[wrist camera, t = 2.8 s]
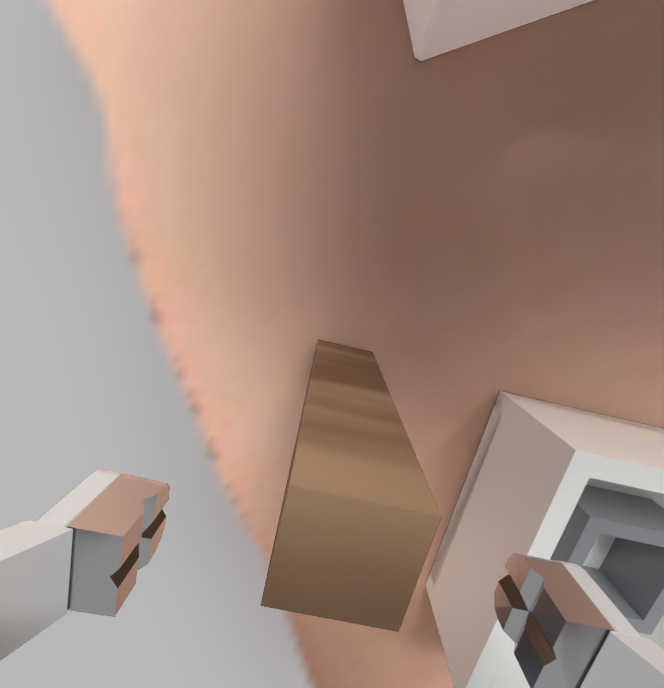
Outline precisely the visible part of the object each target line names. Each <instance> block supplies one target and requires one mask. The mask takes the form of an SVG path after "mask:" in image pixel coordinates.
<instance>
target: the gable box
mask: <svg viewBox="0 0 664 688" xmlns="http://www.w3.org/2000/svg"><path fill="white" fill-rule="evenodd" d="M590 1H593V0H403V3H404V8H405V13H406V17H407V22H408V27H409V32H410V37H411V42H412V46H413V51H414V56H415V58H417V59H418V60H420V61H423V60H426V59H429V58H431V57H434V56H437V55H440V54H443V53H446V52H448V51H451V50H454V49H457V48H460V47H463V46H466V45H468V44H471V43H474V42H477V41H480V40H483V39H485V38H488V37H491V36H494V35H497V34H500V33H502V32H505V31H508V30H511V29H514V28H517V27H519V26H522V25H525V24H528V23H531V22H534V21H536V20H539V19H542V18H545V17H548V16H551V15H554V14H556V13H559V12H562V11H565V10H568V9H571V8H573V7H576V6H579V5H582V4H585V3H588V2H590Z"/></svg>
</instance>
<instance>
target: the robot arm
mask: <svg viewBox="0 0 664 688" xmlns="http://www.w3.org/2000/svg"><path fill="white" fill-rule="evenodd" d="M169 491H170V486H169V485H168V483H163V482H159V481H155V480H150V479H146V478H141V477H137V476H132V475H128V474H122V473H117V472H113V471H108V470H104V469H101V470H97V471H95V472H93V473H92V474H91V475H90V476H89V477H87V478H86V479H85V480H84V481H83V482H82V483H81V484H79V485H78V486H77V487H76V488H75V489H73V490H72V491H71V492H70V493H69V494H68V495H66V496H65V497H64V498H63V499H62V500H60V501H59V502H58V503H57V504H56V505H55V506H53V507H52V508H51V509H50V510H49V511H47V512H46V513H45V514H44V515H43V516H42V517H40V518H39V519H38V520H37V521H36V522H35V521H29V520H27V521H24V522H21V523H19V524H16V525H14V526H11V527H8V528H5V529H3V530H0V660H2V659H3V658H5V657H6V656H7V655H9V654H10V653H12V652H13V651H15V650H16V649H17V648H19V647H20V646H22V645H23V644H24V643H26V642H27V641H29V640H30V639H31V638H33V637H34V636H36V635H37V634H38V633H40V632H41V631H43V630H44V629H45V628H47V627H48V626H50V625H51V624H53V623H54V622H55V621H57V620H58V619H60V618H61V617H62V616H64V615H65V614H67V610H71V611H78V612H86V613H92V614H99V615H107V616H113V617H115V615H116V614H117V612H118V610H119V609H120V607H121V606H122V604H123V602H124V601H125V599H126V598H127V596H128V595H129V593H130V591H131V590H132V588H133V587H134V585H135V583H136V576H137V570H139V569H140V568H142V567H143V566H145V565H147V564H148V563H149V561H150V559H151V558H152V556H153V554H154V553H155V551H156V548H157V546H158V544H159V542H160V539H161V537H162V534H163V529H164V526H165V520H166V515H165V513H164V512H163V510H162V508H163V507H164V505H165V504H166V502H167V501H168V499H169ZM505 568H506V571H507V573H508V575H506V576H505V577H504V578H502V579H501V580H499V581H498V584H497V587H496V589H495V592H494V607H495V611H496V615H497V618H498V621H499V623H500V625H501V627H502V629H503V631H504V632H505V633H506V634H507V635H508V636H509V637H510V638H511V639H512V640H513V641H514V642H515V646H514V655H515V657H516V659H517V661H518V663H519V665H520V667H521V669H522V671H523V674H524V676H525V678H526V680H527V682H528V684H529V686H530V688H664V650H663V649H662V648H661V647H659V646H658V645H657V644H655V643H654V642H653V641H651V640H650V639H649V638H645V637H641V636H640V635H639V633H638V632H637V631H636V630H635V629H634V628H633V626H632V625H631V624H630V623H629V622H628V620H627V619H626V618H625V617H624V616H623V615H622V613H621V612H620V611H619V610H618V609H617V607H616V606H615V605H614V604H613V603H612V602H611V600H610V599H609V598H608V597H607V596H606V594H605V593H604V592H603V591H602V590H601V588H600V587H599V586H598V585H597V584H596V583H595V581H594V580H593V579H592V578H591V577H590V575H589V574H588V573H587V572H586V571H585V570H584V569H583V568H582V567H580V566H579V565H577V564H574V563H569V562H563V561H557V560H554V561H553V560H549V559H544V558H538V557H533V556H528V555H523V554H518V553H513V554H512V555H511V556H510V557H509V558H508V560H507V562H506V564H505Z"/></svg>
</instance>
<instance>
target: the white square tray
mask: <svg viewBox="0 0 664 688" xmlns="http://www.w3.org/2000/svg"><path fill="white" fill-rule="evenodd" d="M513 553H518V554H523V555H528V556H533V557H538V558H544V559H549V560H553V561H554V560H557V561H563V562H569V563H574V564H577V565H579V566H580V567H582V568H583V569H584V570H585V571H586V572H587V573H588V574H589V575H590V577H591V578H592V579H593V580H594V581H595V583H596V584H597V585H598V586H599V587H600V588H601V590H602V591H603V592H604V593H605V594H606V596H607V597H608V598H609V599H610V600H611V602H612V603H613V604H614V605H615V606H616V607H617V609H618V610H619V611H620V612H621V613H622V615H623V616H624V617H625V618H626V619H627V620H628V622H629V623H630V624H631V625H632V626H633V628H634V629H635V630H636V631H637V632H638V633H639V635H640V636H641V637H645V638H649V639H650V640H651V641H653V642H654V643H655V644H657V645H658V646H659V647H661V648H662V649H663V650H664V429H663V428H659V427H655V426H650V425H646V424H642V423H637V422H633V421H629V420H624V419H620V418H615V417H611V416H607V415H602V414H598V413H594V412H589V411H585V410H581V409H576V408H572V407H568V406H563V405H559V404H555V403H550V402H546V401H542V400H537V399H533V398H529V397H524V396H520V395H516V394H511V393H507V392H503V391H500V392H499V395H498V397H497V400H496V402H495V405H494V408H493V410H492V413H491V415H490V418H489V421H488V423H487V426H486V429H485V431H484V434H483V436H482V439H481V442H480V444H479V447H478V449H477V452H476V455H475V457H474V460H473V462H472V465H471V468H470V470H469V473H468V475H467V478H466V481H465V483H464V486H463V488H462V491H461V494H460V496H459V499H458V502H457V504H456V507H455V509H454V512H453V515H452V517H451V520H450V522H449V525H448V528H447V530H446V533H445V535H444V538H443V541H442V543H441V546H440V548H439V551H438V554H437V556H436V559H435V561H434V564H433V567H432V569H431V572H430V575H429V577H428V580H427V582H426V589H427V592H428V596H429V599H430V603H431V606H432V610H433V613H434V617H435V620H436V624H437V627H438V631H439V635H440V638H441V642H442V645H443V649H444V652H445V656H446V659H447V663H448V666H449V670H450V674H451V677H452V681H453V684H454V688H530V686H529V684H528V682H527V680H526V678H525V676H524V674H523V671H522V669H521V667H520V665H519V663H518V661H517V659H516V657H515V655H514V646H515V642H514V641H513V640H512V639H511V638H510V637H509V636H508V635H507V634H506V633H505V632H504V631H503V629H502V627H501V625H500V623H499V621H498V618H497V615H496V611H495V607H494V592H495V589H496V587H497V584H498V581H499V580H501V579H502V578H504V577H505V576H506V575H508V573H507V571H506V568H505V564H506V562H507V560H508V558H509V557H510V556H511V555H512V554H513Z"/></svg>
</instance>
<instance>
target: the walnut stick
mask: <svg viewBox="0 0 664 688" xmlns="http://www.w3.org/2000/svg"><path fill="white" fill-rule="evenodd" d="M441 517H442V516H441V514H440V512H439V509H438V507H437V505H436V502H435V500H434V497H433V495H432V493H431V490H430V488H429V486H428V483H427V481H426V479H425V476H424V474H423V471H422V469H421V467H420V464H419V462H418V460H417V457H416V455H415V452H414V450H413V448H412V445H411V443H410V441H409V438H408V436H407V433H406V431H405V429H404V426H403V424H402V422H401V419H400V417H399V414H398V412H397V410H396V407H395V405H394V403H393V400H392V398H391V395H390V393H389V391H388V388H387V386H386V384H385V381H384V379H383V377H382V374H381V372H380V369H379V367H378V365H377V362H376V360H375V358H374V355H373V353H372V352H369V351H365V350H360V349H356V348H352V347H348V346H343V345H339V344H335V343H330V342H326V341H322V340H318V344H317V348H316V353H315V357H314V361H313V366H312V370H311V374H310V378H309V383H308V387H307V391H306V396H305V401H304V405H303V410H302V415H301V419H300V424H299V429H298V433H297V438H296V443H295V447H294V452H293V457H292V461H291V466H290V471H289V476H288V480H287V485H286V490H285V494H284V499H283V504H282V508H281V513H280V518H279V522H278V527H277V532H276V536H275V541H274V546H273V550H272V555H271V560H270V564H269V569H268V574H267V578H266V583H265V588H264V592H263V597H262V602H261V606H265V607H270V608H276V609H281V610H286V611H292V612H297V613H302V614H307V615H313V616H318V617H323V618H329V619H334V620H339V621H344V622H350V623H355V624H360V625H365V626H371V627H376V628H381V629H387V630H392V631H397V632H399V629H400V626H401V624H402V621H403V618H404V616H405V613H406V610H407V608H408V605H409V602H410V600H411V597H412V594H413V592H414V589H415V586H416V584H417V581H418V578H419V576H420V573H421V570H422V568H423V565H424V562H425V560H426V557H427V554H428V552H429V549H430V546H431V544H432V541H433V538H434V536H435V533H436V530H437V528H438V525H439V522H440V520H441Z"/></svg>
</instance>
